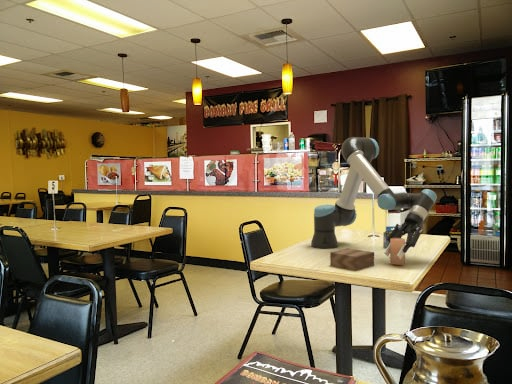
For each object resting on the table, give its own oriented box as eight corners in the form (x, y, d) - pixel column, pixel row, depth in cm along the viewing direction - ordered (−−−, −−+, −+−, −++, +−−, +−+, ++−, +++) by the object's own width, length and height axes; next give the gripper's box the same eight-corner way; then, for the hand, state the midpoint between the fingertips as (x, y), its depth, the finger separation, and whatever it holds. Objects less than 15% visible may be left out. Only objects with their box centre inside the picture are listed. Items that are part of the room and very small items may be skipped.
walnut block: (330, 265, 189) (330, 252, 188) (348, 260, 198) (348, 248, 198) (356, 270, 179) (356, 257, 178) (374, 265, 188) (374, 252, 188)
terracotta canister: (387, 262, 188) (387, 238, 188) (394, 260, 193) (394, 237, 192) (400, 265, 184) (400, 240, 183) (407, 262, 188) (407, 238, 187)
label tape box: (398, 247, 232) (398, 225, 232) (401, 248, 228) (401, 226, 228) (383, 247, 232) (383, 225, 232) (385, 248, 228) (385, 226, 227)
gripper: (437, 224, 187) (414, 265, 180) (402, 220, 204) (379, 257, 196) (430, 213, 184) (406, 254, 176) (395, 210, 201) (371, 247, 193)
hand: (392, 255), depth 186 cm, fingers closed on terracotta canister, 6 cm apart
